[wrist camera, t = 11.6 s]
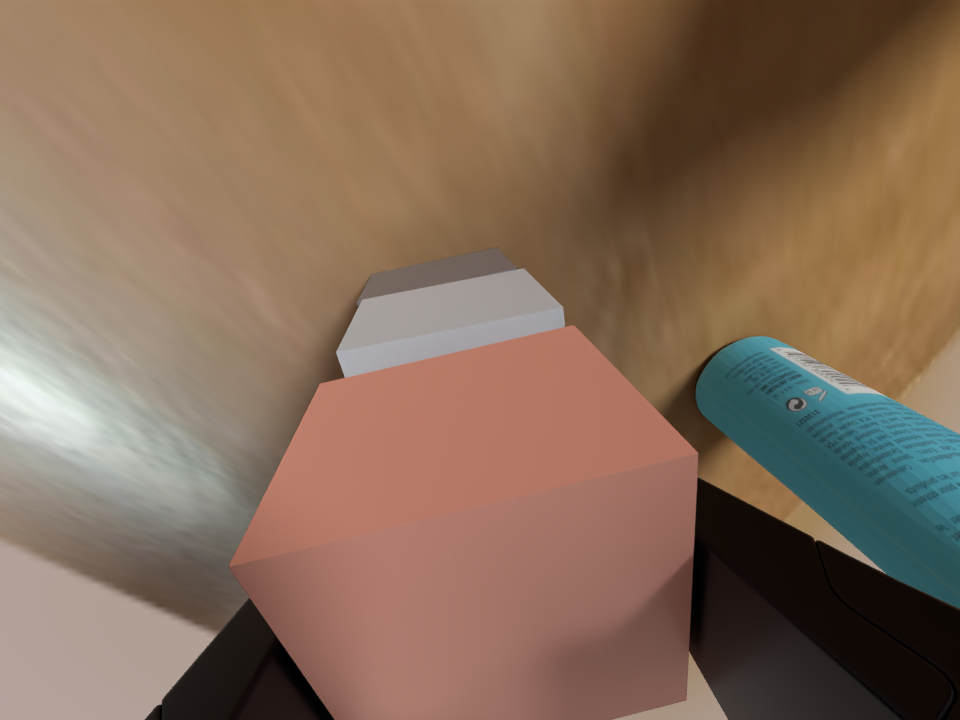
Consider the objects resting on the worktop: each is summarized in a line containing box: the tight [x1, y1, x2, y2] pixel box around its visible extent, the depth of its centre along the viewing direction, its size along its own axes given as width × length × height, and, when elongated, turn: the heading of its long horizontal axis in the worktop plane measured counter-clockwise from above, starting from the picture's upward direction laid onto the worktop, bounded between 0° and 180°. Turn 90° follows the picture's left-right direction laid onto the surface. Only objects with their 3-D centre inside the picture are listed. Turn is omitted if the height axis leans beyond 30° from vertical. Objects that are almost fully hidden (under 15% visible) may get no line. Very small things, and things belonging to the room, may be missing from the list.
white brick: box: [336, 268, 565, 378], centre depth 12 cm, size 5×5×4 cm
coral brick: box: [228, 325, 699, 720], centre depth 7 cm, size 5×5×4 cm
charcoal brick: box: [357, 247, 517, 307], centre depth 15 cm, size 5×5×4 cm
